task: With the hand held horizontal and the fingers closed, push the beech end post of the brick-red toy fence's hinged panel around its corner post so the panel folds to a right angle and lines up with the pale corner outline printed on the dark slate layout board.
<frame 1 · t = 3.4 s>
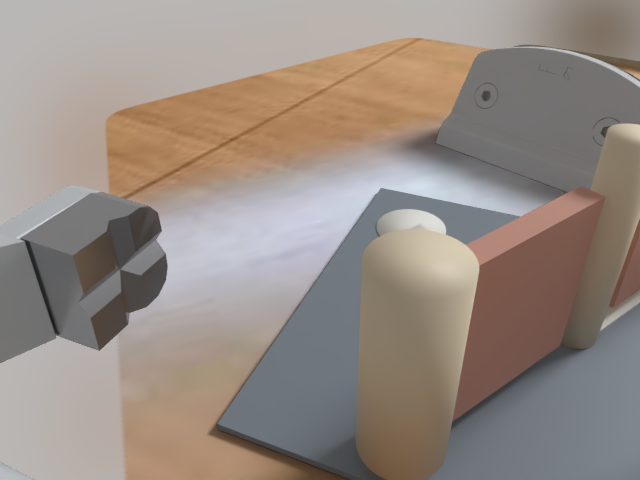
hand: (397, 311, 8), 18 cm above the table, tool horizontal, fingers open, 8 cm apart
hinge: (538, 160, 52), on the table
swing panel: (483, 317, 26), point 6 cm above the table, hinge at 0.0°
fixed fence: (573, 333, 33), resting on layout board
layout board: (495, 330, 34), on the table
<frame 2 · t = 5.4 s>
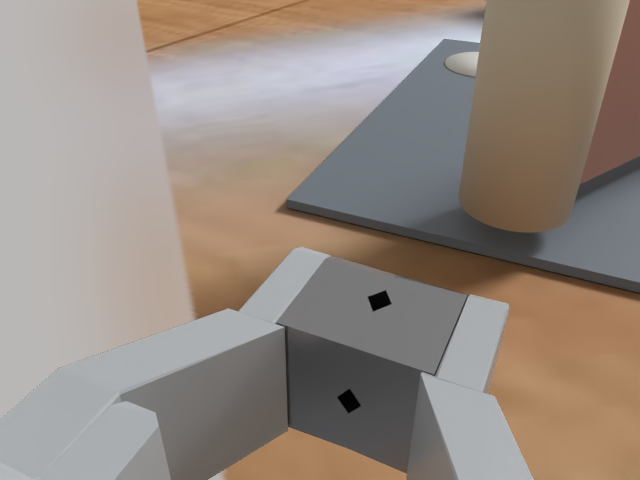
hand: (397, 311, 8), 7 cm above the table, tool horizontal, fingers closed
swing panel: (620, 43, 21), point 6 cm above the table, hinge at 0.0°
layout board: (597, 138, 30), on the table
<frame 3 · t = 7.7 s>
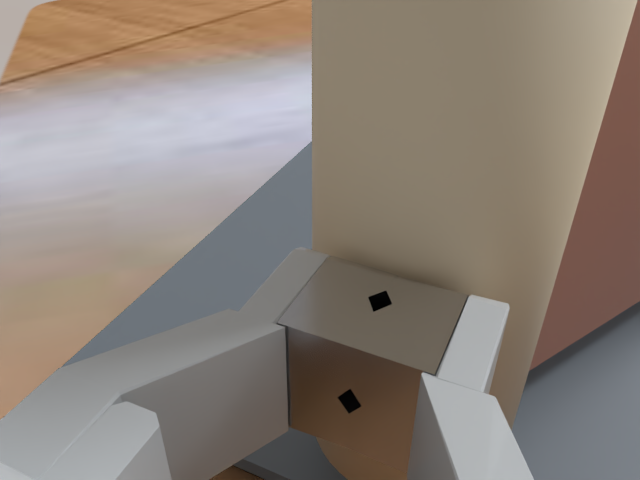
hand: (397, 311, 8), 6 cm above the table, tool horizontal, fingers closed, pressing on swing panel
swing panel: (599, 145, 12), point 6 cm above the table, hinge at -0.5°, touching gripper
layout board: (575, 245, 20), on the table
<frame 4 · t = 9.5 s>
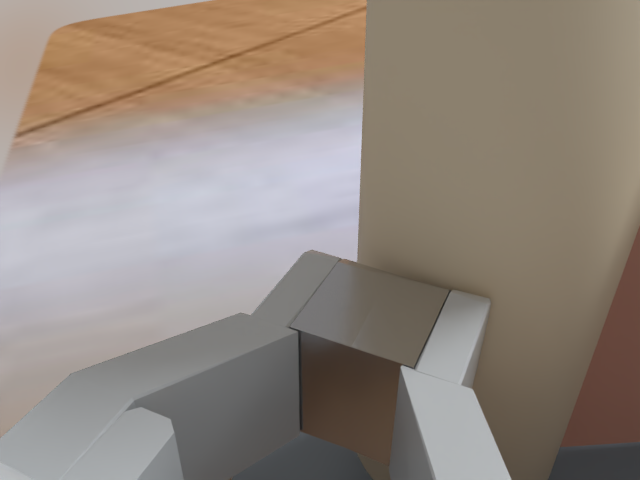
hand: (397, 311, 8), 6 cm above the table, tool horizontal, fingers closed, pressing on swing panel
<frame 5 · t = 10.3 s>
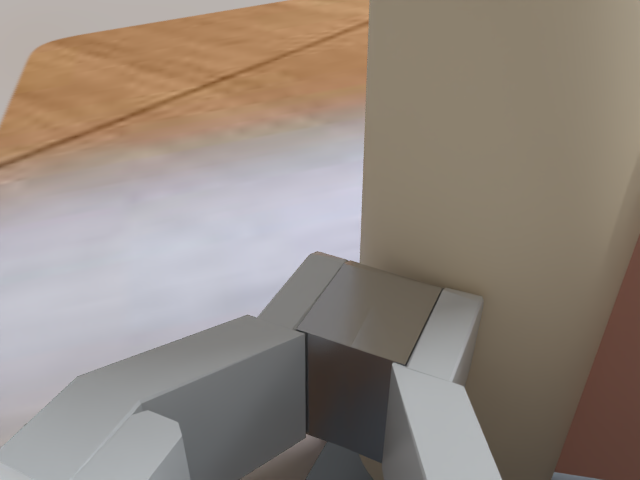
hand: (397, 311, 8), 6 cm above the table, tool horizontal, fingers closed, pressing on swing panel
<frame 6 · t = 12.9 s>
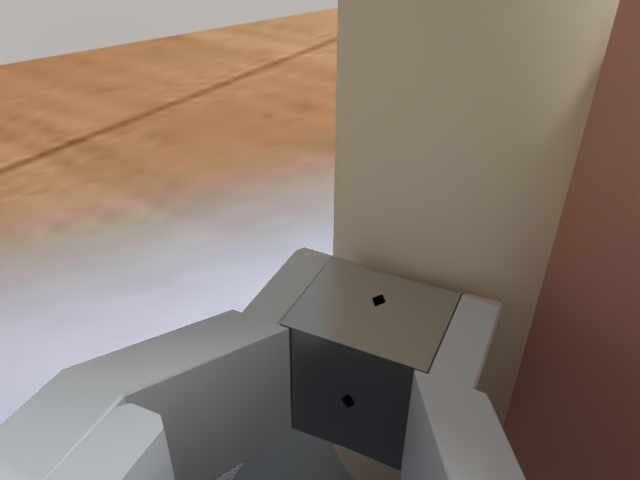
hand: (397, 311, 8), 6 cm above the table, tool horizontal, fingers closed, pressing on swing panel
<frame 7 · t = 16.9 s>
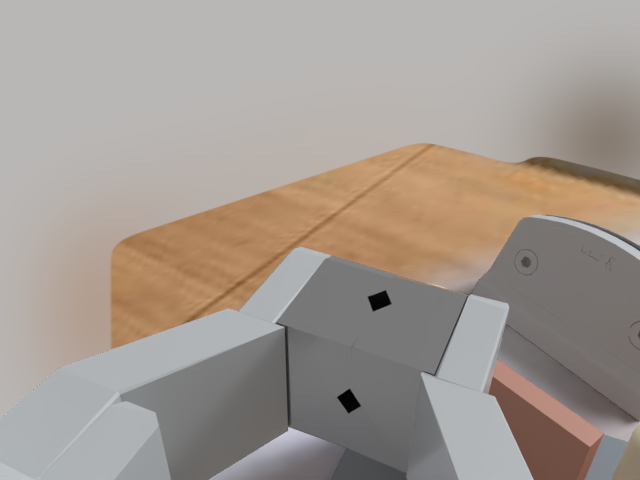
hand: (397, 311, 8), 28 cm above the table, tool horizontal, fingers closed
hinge: (574, 336, 49), on the table
swing panel: (475, 412, 34), point 6 cm above the table, hinge at -86.3°
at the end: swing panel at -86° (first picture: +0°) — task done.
